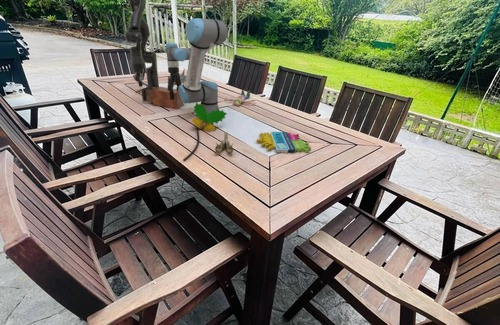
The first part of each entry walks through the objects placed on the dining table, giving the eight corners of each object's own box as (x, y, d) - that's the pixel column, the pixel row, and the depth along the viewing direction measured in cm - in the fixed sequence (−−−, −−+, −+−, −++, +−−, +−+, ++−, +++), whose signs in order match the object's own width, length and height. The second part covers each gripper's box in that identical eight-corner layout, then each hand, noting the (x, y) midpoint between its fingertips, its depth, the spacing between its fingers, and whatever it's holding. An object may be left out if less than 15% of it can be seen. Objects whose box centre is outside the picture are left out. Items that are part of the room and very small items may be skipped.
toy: (261, 91, 228) (254, 99, 202) (261, 99, 231) (253, 108, 205) (231, 87, 233) (220, 95, 207) (230, 95, 236) (219, 104, 210)
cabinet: (153, 104, 197) (151, 89, 191) (160, 101, 206) (158, 86, 200) (177, 108, 194) (177, 93, 188) (183, 105, 203) (183, 90, 197)
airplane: (159, 78, 275) (158, 68, 270) (189, 77, 288) (188, 67, 283) (167, 88, 246) (166, 77, 241) (199, 86, 260) (199, 75, 254)
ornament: (218, 133, 171) (224, 110, 169) (221, 134, 163) (227, 111, 161) (186, 125, 162) (192, 101, 160) (189, 126, 155) (195, 101, 153)
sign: (313, 150, 142) (258, 149, 139) (312, 153, 143) (258, 152, 140) (301, 132, 164) (254, 130, 161) (301, 134, 165) (254, 133, 162)
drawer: (135, 100, 198) (134, 87, 194) (142, 97, 206) (141, 85, 202) (165, 105, 195) (164, 92, 191) (171, 102, 203) (170, 89, 199)
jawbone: (234, 135, 144) (233, 125, 135) (233, 160, 138) (232, 151, 129) (217, 135, 144) (216, 125, 135) (216, 160, 138) (214, 150, 129)
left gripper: (137, 60, 195) (141, 84, 204) (127, 63, 184) (131, 88, 192) (147, 61, 194) (150, 85, 202) (136, 64, 182) (140, 89, 191)
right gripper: (175, 63, 195) (177, 93, 206) (160, 68, 176) (163, 101, 186) (185, 65, 194) (186, 94, 205) (170, 70, 175) (173, 102, 185)
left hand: (140, 86), depth 197 cm, fingers closed
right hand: (175, 97), depth 196 cm, fingers closed on cabinet, 11 cm apart
